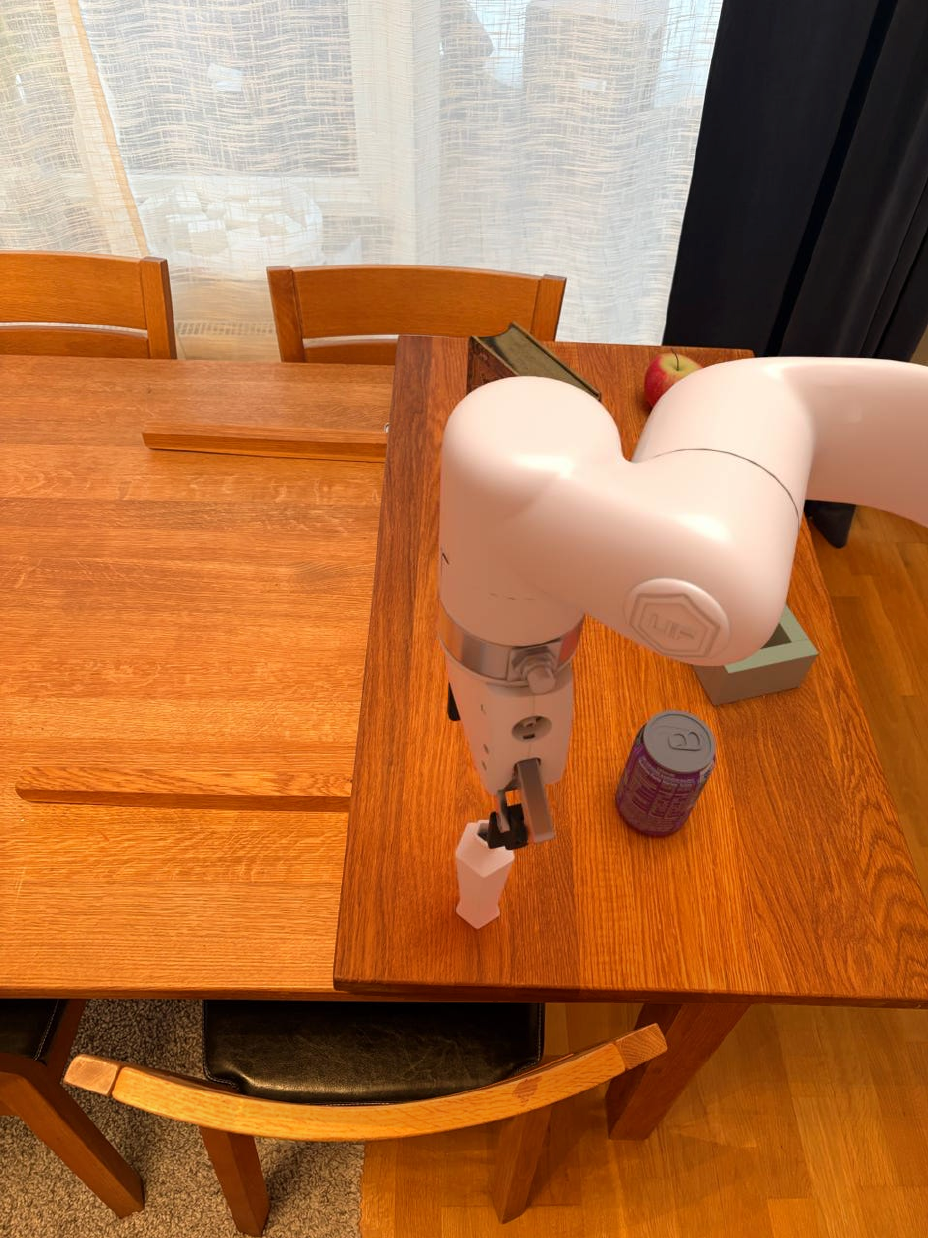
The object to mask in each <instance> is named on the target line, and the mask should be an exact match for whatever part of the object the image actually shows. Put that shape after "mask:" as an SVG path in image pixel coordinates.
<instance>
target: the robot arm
mask: <svg viewBox="0 0 928 1238" xmlns="http://www.w3.org/2000/svg"><path fill="white" fill-rule="evenodd" d="M444 427H445V428H444V430H443V434H442V438H441V439H442V441H441V452H440V477H439V482H440V484H439V520H438V521H439V523H438V525H439V526H438V563H437V564H438V566H437V569H438V571H437V600H436V601H437V602H436V603H437V606H436V607H437V609H436V633H437V639H438V642H439V645H440V647H441V649H442V651H443V652H444V654H445V664H446V665H445V667H446V672H447V677H448V681H449V682H448V684H447V685H448V686H447V706H446V707H447V708H446V709H447V710H446V714H447V716H448V719H449V720H450V721H451V722H459V721H461V725H462V728H463V731H464V734H465V737H466V741H467V743H468V747H469V749H470V753H471V756H472V759H473V763H474V765H475V768H476V771H477V774H478V777H479V779H480V783H481V785H482V787H483V789H484V790H485V792H487V793H489V794H490V795H492V796H493V805H494V811H492V812H490V814H489V819H488V820H489V826H488V833H487V844H488V847H489V849H495V848H499V847H503V846H505V849H506V850H513V851H515V850H519V849H522V848H525V847H528V845H537V844H540V843H543V842H548V841H552V840H555V839H556V831H555V827H554V822H553V818H552V814H551V810H550V805H549V801H548V797H547V792H546V787H545V786H549V785H552V784H556V783H559V782H560V781H561V779H562V777H563V775H564V772H565V769H566V764H567V760H568V753H569V750H570V748H569V747H570V742H571V735H572V727H573V718H574V717H573V716H574V697H575V696H574V695H575V693H574V691H575V690H574V672H573V669H572V663H571V661H572V660H573V659H574V657H575V655H576V653H577V650H578V647H579V644H580V640H581V635H582V633H583V632H582V631H583V627H584V623H585V619H586V616H588V617H590V618H592V619H594V620H595V621H597V622H598V623H600V624H602V625H604V626H605V627H607V628H608V629H609V630H612V631H614V632H615V633H616V634H619V635H620V636H622V637H623V638H625V639H627V640H629V641H631V642H633V643H635V644H636V645H638V646H641V647H643V648H644V649H646V650H649V651H650V652H653V653H655V654H657V655H660V656H662V657H664V658H668V659H671V660H674V661H677V662H680V663H683V664H689V665H691V664H693V665H699V666H722V665H729V664H733V663H736V662H739V661H742V660H744V659H746V658H748V657H750V656H751V655H753V654H754V653H756V652H757V651H758V650H760V649H761V648H762V647H763V646H764V645H765V644H766V643H767V641H768V640H769V639H770V638H771V636H772V634H773V633H774V631H775V629H776V627H777V626H778V624H779V621H780V619H781V616H782V613H783V610H784V607H785V603H786V602H787V597H788V592H789V589H790V588H789V587H790V583H791V582H790V581H791V576H792V572H793V571H792V570H793V564H794V558H795V553H796V547H797V542H798V538H799V534H800V532H801V531H800V530H801V525H802V518H803V514H804V507H805V503H806V500H807V501H808V500H809V501H821V502H831V503H832V502H833V503H843V504H850V505H855V506H856V505H857V506H863V507H868V508H872V509H877V510H880V511H885V512H888V513H890V514H894V515H896V516H899V517H901V518H905V519H907V520H910V521H912V522H914V523H915V524H918V525H920V526H923V527H924V528H926V529H928V366H926V365H922V364H918V363H911V362H906V361H899V360H893V359H892V360H891V359H881V358H868V357H866V358H864V357H831V356H830V357H826V356H825V357H824V356H820V357H819V356H768V357H766V356H765V357H751V358H742V359H741V358H740V359H736V360H735V359H734V360H729V361H725V362H719V363H714V364H712V365H709V366H706V367H704V368H703V369H700V370H698V371H695V372H693V373H691V374H689V375H688V376H686V377H684V378H683V379H681V380H680V381H678V382H676V383H675V384H674V385H673V386H672V387H671V388H670V389H669V390H668V391H667V392H666V393H665V394H664V395H663V396H662V397H661V398H660V399H659V401H658V402H657V404H656V405H655V406H654V408H652V410H651V412H650V414H649V416H648V418H647V420H646V422H645V424H644V426H643V429H642V432H641V434H640V436H639V439H638V440H637V441H638V442H637V444H636V447H635V449H634V451H633V455H632V457H631V460H630V461H628V460H627V459H626V458H625V457H624V455H623V452H622V442H621V437H620V433H619V429H618V426H617V424H616V423H615V420H614V418H613V417H612V415H611V414H610V413H609V411H608V410H607V408H606V407H605V406H604V405H603V404H602V402H601V403H600V402H599V401H597V400H596V399H595V398H594V397H592V396H591V395H589V394H588V393H586V392H585V391H583V390H581V389H579V388H577V387H575V386H572V385H570V384H568V383H565V382H562V381H559V380H554V379H550V378H543V377H534V376H521V377H509V378H505V379H501V380H497V381H494V382H491V383H488V384H485V385H483V386H481V387H479V388H477V389H475V390H474V391H472V392H471V393H469V394H468V395H467V396H466V395H465V397H464V398H462V400H461V401H460V402H458V404H457V405H456V406H455V408H454V409H453V411H452V412H451V413H450V415H449V417H448V419H447V421H446V425H445V426H444ZM513 791H518V795H519V800H520V803H519V802H518V803H516V804H510V805H508V799H507V793H509V792H513Z"/></svg>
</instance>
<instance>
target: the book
mask: <svg viewBox="0 0 928 1238" xmlns="http://www.w3.org/2000/svg"><path fill="white" fill-rule="evenodd" d="M507 328H508V329H506V330H505V331H503V332H501V333H498V334H495V335H488V336H477V335H475V334H473V335H470V336H469V337H468V344H467V345H468V346H467V347H468V349H467V367H466V390H465V391H466V393H465V397H466V396H467V395H468V394H469V393H471V392H472V391H474V390H475V389H477V388H479V387H481V386H483V385H485V384H488V383H491V382H494V381H497V380H501V379H505V378H509V377H521V376H534V377H543V378H550V379H554V380H559V381H562V382H565V383H568V384H570V385H572V386H575V387H577V388H579V389H581V390H583V391H585V392H586V393H588V394H589V395H591V396H592V397H594V398H595V399H596V400H597V401H599V402H600V403H601V404H602V396H603V394H602V391H600V390H599V389H598V388H597V387H596V386H594V385H593V384H592V383H591V382H590V381H588V380H587V379H586V378H585V377H584V376H583V375H582V374H580V373H578V372H577V371H576V370H575V369H574V368H573V367H571V366H570V365H569V364H568V363H566V362H565V361H564V360H562V358H561V357H559V356H558V355H556V353H554V352H553V350H550V349H549V347H547V346H546V345H544V344H543V343H542V342H541V341H540V340H539V339H538V338H536V337H535V336H534V335H532V334H531V333H530V331H528V330H527V329H525V328H524V327H523V326H522V325H520V324H519V323H518V322H517V321H515V320H513V321H510V323H508V327H507Z"/></svg>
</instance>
